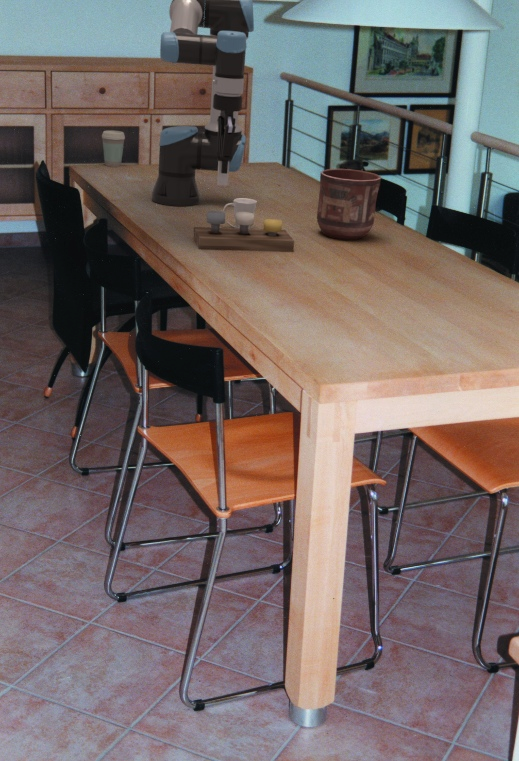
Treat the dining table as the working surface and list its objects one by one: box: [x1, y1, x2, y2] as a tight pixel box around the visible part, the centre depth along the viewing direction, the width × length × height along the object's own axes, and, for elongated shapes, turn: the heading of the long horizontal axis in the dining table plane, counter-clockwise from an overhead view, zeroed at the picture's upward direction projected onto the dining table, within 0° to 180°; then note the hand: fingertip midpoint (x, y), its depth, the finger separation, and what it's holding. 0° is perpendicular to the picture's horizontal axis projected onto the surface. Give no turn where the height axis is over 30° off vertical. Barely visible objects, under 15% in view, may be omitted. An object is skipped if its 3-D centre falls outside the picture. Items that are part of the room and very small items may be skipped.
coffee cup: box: [101, 130, 126, 168], centre depth 359 cm, size 8×8×12 cm
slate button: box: [206, 210, 226, 233], centre depth 267 cm, size 5×5×5 cm
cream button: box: [234, 212, 255, 234], centre depth 269 cm, size 5×5×5 cm
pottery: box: [316, 168, 382, 241], centre depth 287 cm, size 18×18×18 cm
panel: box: [193, 226, 295, 252], centre depth 271 cm, size 12×26×3 cm, turn 101°
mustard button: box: [262, 218, 283, 236], centre depth 271 cm, size 5×5×5 cm
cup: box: [222, 197, 258, 229], centre depth 287 cm, size 7×10×8 cm
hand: (222, 184), depth 264 cm, fingers closed
